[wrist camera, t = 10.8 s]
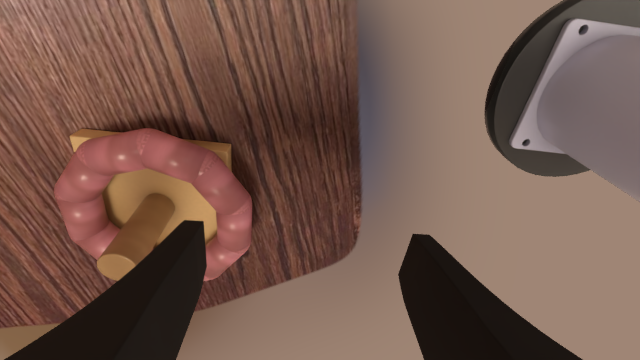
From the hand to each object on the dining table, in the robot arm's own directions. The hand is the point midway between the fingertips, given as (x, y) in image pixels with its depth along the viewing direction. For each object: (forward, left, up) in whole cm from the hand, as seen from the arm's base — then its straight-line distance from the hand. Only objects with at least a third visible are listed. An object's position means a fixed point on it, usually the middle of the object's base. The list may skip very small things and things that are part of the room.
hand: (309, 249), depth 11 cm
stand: (+9, +6, -10) cm, 15 cm away
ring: (+9, +6, -8) cm, 13 cm away
